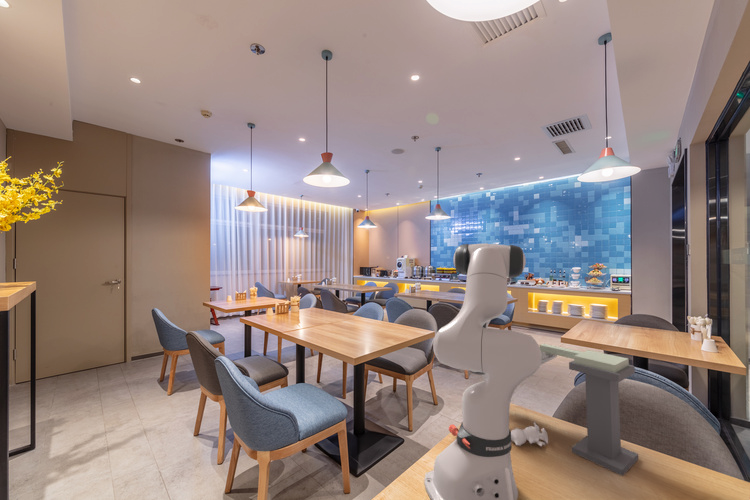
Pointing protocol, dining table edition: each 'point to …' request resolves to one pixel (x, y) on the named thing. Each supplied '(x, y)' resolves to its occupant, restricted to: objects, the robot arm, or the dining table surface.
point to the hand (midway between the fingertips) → (553, 351)
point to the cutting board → (589, 358)
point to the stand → (604, 419)
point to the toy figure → (529, 435)
